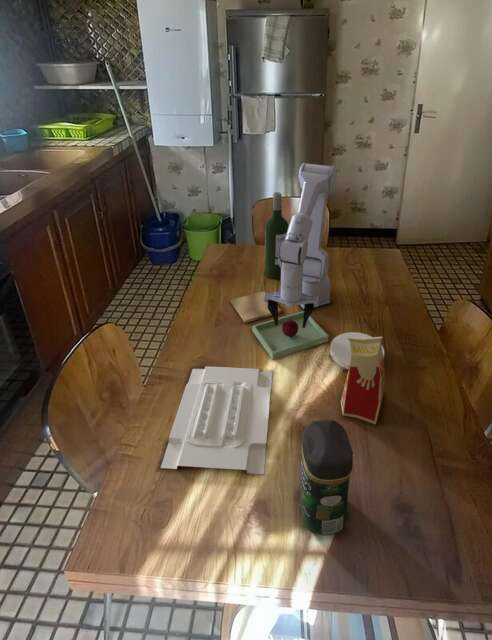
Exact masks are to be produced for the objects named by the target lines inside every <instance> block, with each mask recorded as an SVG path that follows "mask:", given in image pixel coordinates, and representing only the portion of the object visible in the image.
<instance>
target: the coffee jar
mask: <svg viewBox="0 0 492 640" xmlns="http://www.w3.org/2000/svg"><path fill="white" fill-rule="evenodd" d="M353 455H354V451H353V449H352V444H351V442H350V439H349V435H348V434H347V430H346V429H345V428H344V427H343V425H342V424H340V423H339V422H338V421H336V420H335V419H319V420H313V421H311V422H309V424H307V425H306V426H305V428H304V430H303V432H302V438H301V457H300V458H301V461H300V478H299V479H300V482H299V507H300V513H301V516H302V521H303V523H304V526H305V528H306V529H307V531H309V532H310V533H312V534H314V535H319V536H328V535H333V534H336V533H339V532H341V531H342V530H343V529H344V527H345V525H346V521H347V510H348V499H349V488H350V478H351V474H352V472H353V467H354V456H353Z"/></svg>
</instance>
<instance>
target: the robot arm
mask: <svg viewBox="0 0 492 640" xmlns="http://www.w3.org/2000/svg"><path fill="white" fill-rule="evenodd" d="M337 179H338V170H337V167H336V166H335V165H323V164H315V163H307V162H303V163H302V164H301V165H300V166H299V170H298V182H299V187H300V189H301V193H300V194H301V195H300V199H299V204H298V208H297V213H295V214H294V215H292V216H291V218H290V222H289V223H288V226H289V228H288V231H287V234H286V237H285V240H284V241H281V243H280V245H279V249H278V260H279V266H280V268H281V279H280V291H274V292H266V293H265V294H264V302H268V306H267V307H268V310H269V311H270V313H271V314H272V316H271V317H272V320H274V323H275V325H278V318H279V314H278V307H279V303H280V304H283V305H285V307H287V308H294V307H295V306H298V305H299V306H300V307H301V308H302V309H303V311H304V319H303V328H305V325H306V322H307V320H308V318H309V316H311V315H312V314H313V312H314V308H318V307H321V306H324V305H327V304H330V303H331V300H330V293H331V281H330V278H329V276H328V273H329V267H330V261H329V260H330V255H329V253H328V252H326V250H324V249H323V247H322V243H323V236H324V235H323V234H324V226H325V219H326V212H327V211H326V210H327V203H328V199H329V195H332V194H335V191H336V187H337Z"/></svg>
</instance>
